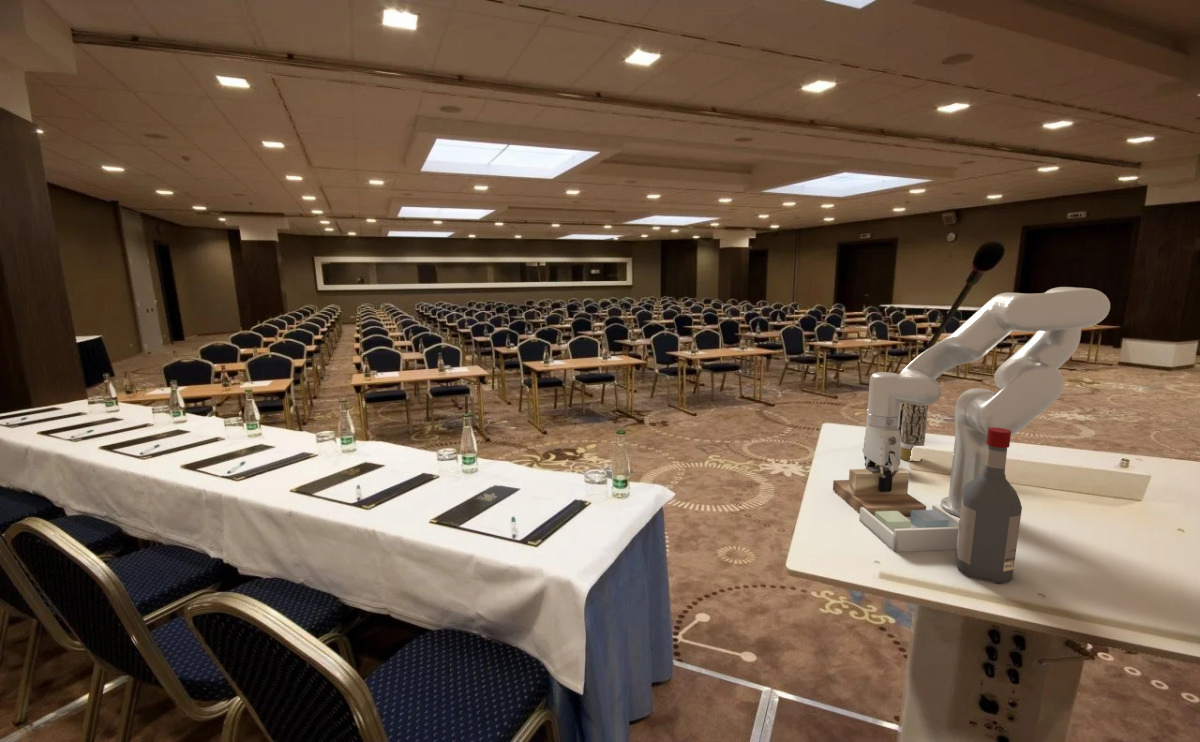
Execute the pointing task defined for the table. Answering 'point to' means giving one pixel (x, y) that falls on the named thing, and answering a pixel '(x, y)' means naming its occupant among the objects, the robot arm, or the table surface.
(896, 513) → the tile sage
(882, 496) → the wooden serving board
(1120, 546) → the table surface
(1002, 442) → the liquor
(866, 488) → the wooden block
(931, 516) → the tile slate
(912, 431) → the bark textured cylinder
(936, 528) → the tray
